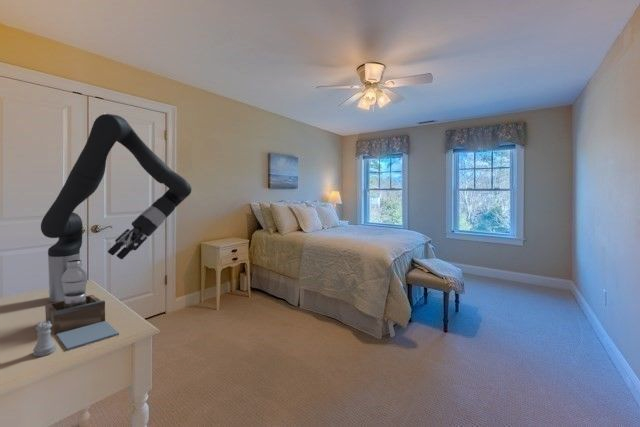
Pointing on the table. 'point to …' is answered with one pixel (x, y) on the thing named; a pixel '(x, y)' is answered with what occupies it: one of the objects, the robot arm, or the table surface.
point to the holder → (75, 314)
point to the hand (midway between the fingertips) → (114, 255)
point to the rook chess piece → (44, 340)
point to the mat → (86, 335)
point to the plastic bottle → (74, 284)
